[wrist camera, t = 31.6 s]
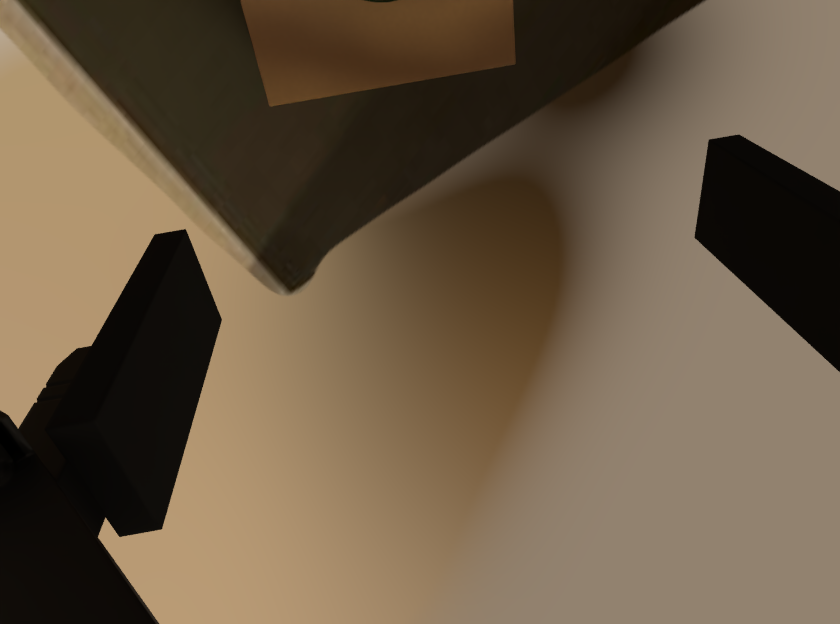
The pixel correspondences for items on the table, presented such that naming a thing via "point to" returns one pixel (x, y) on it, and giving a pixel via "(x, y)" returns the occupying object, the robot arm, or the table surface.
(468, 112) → the table surface
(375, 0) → the soda can
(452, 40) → the chest lid
